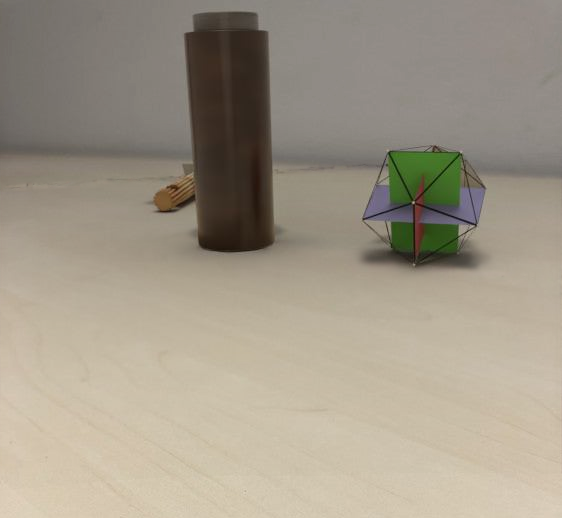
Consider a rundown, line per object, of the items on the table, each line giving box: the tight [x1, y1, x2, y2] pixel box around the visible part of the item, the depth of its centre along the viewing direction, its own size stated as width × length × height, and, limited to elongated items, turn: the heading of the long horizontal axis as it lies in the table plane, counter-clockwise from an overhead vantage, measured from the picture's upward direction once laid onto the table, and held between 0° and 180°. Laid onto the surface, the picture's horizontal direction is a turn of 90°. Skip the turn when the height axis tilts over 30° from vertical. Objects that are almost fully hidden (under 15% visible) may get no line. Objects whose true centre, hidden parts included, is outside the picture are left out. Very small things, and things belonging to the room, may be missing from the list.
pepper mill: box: [183, 10, 275, 252], centre depth 45 cm, size 5×5×14 cm
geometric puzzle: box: [360, 143, 488, 267], centre depth 42 cm, size 7×7×8 cm
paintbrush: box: [153, 162, 195, 212], centre depth 68 cm, size 4×3×20 cm
